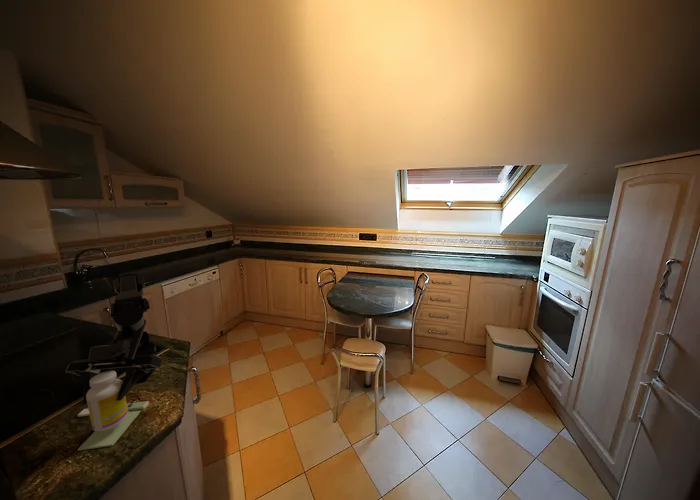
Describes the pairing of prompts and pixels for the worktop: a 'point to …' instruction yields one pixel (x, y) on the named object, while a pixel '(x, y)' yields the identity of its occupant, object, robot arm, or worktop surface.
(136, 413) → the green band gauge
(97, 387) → the supplement bottle
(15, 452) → the worktop surface
